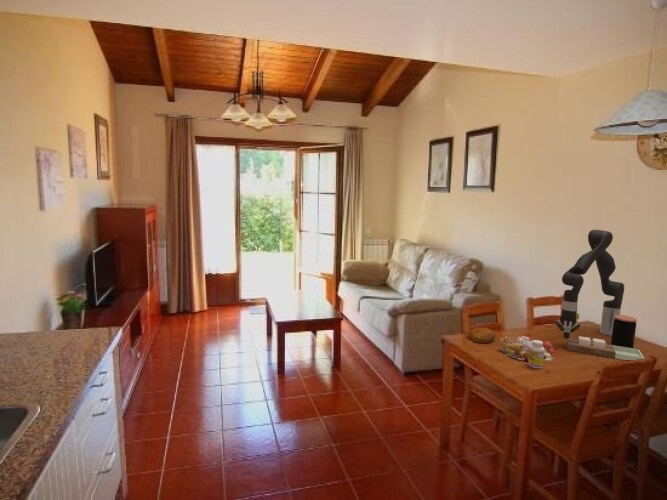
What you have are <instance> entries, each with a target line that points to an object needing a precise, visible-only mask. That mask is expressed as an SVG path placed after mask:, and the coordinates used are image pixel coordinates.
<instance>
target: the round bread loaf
mask: <svg viewBox="0 0 667 500" xmlns="http://www.w3.org/2000/svg"><path fill="white" fill-rule="evenodd" d="M468 339H469V340H470V341H473V342H475V343H478V344H486V343H490V342H492V341H494V340H495V339H496V333H495V331H493V330H492V329H490V328H488V327H476V328H472V329H470V330H469V331H468Z"/></svg>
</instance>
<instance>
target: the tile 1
mask: <svg viewBox="0 0 667 500" xmlns="http://www.w3.org/2000/svg"><path fill="white" fill-rule="evenodd" d="M577 339H578V343H579V344H581V345H587V346H590V344H591V341H592V340H591V337H587V336H586V337H585V336H582V335H581V336H580V335H578V338H577Z"/></svg>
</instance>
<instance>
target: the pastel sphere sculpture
mask: <svg viewBox="0 0 667 500" xmlns="http://www.w3.org/2000/svg"><path fill="white" fill-rule="evenodd" d="M516 339H517V340H515V338H511V337H510V336H504V338H502V337H501V338H500V339H499V340H500V345H501V346H500V349H499V350H500V351H501V352H503V353H505V355H506V356H508V357H509V358H513V359H515V360H516V359H517V360H518V361H525V362H526V363H528V360H529V351H530V346H531V345H533V340H531V339H530V337H529V336H524V335H522V336H518V337H516ZM542 347H544V349H545V351H544V360H543V362H551V361H553V360H554V358H555V349H554V348H552V347H553V345H552V343H551V342H550V341H548V340H547V341H544V342H543V346H542ZM546 350H547V351H546Z"/></svg>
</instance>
